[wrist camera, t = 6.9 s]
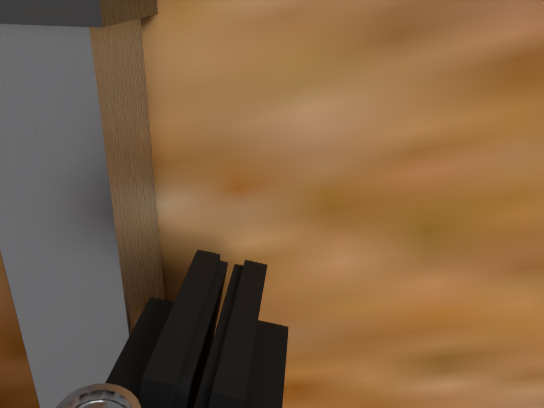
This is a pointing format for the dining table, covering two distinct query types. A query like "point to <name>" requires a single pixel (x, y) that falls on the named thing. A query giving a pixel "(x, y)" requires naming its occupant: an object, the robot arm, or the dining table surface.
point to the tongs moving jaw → (76, 184)
